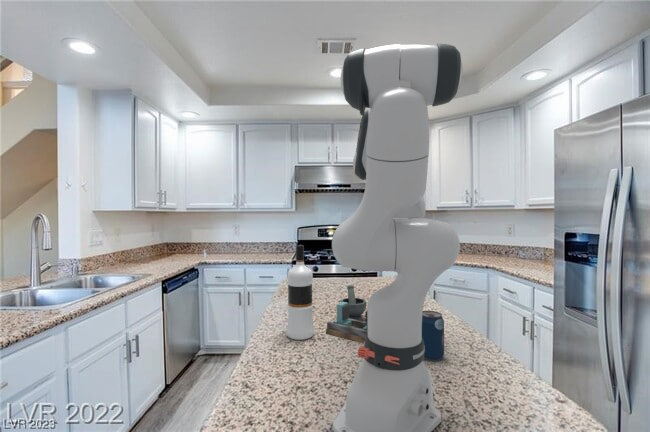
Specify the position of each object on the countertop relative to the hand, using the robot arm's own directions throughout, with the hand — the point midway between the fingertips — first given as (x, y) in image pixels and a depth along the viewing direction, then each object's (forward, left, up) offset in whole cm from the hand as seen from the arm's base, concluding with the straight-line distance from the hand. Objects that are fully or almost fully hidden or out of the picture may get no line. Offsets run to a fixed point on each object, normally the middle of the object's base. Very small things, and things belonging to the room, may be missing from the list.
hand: (394, 231), depth 105 cm
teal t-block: (-9, +15, -32) cm, 37 cm away
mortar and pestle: (+5, +19, -34) cm, 40 cm away
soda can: (-11, -15, -34) cm, 39 cm away
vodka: (-20, +25, -34) cm, 47 cm away
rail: (-9, +10, -34) cm, 37 cm away
